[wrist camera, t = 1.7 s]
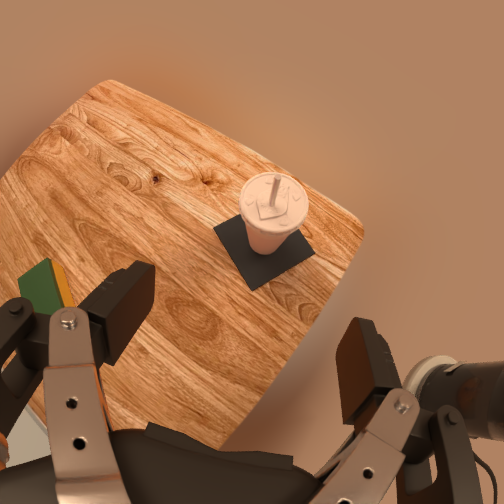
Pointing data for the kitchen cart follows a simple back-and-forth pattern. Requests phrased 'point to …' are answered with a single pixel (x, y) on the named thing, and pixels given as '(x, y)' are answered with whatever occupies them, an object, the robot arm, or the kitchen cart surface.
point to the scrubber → (46, 287)
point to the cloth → (257, 265)
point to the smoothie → (272, 209)
